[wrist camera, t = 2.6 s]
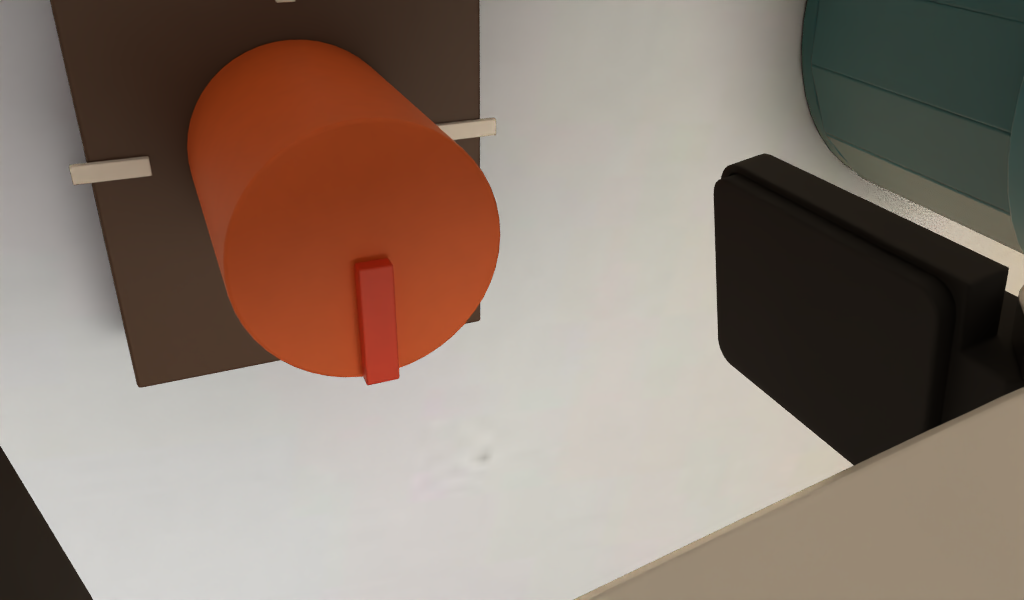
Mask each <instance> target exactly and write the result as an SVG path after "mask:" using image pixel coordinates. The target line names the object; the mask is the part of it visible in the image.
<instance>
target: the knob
mask: <svg viewBox="0 0 1024 600" xmlns="http://www.w3.org/2000/svg"><path fill="white" fill-rule="evenodd" d="M187 152H188V162H189V166H190V171H191V175H192V178H193V182H194V185H195V188H196V192H197V195H198V198H199V202H200V205H201V208H202V212H203V215H204V218H205V221H206V225H207V228H208V231H209V235H210V238H211V241H212V245H213V248H214V251H215V255H216V258H217V261H218V265H219V268H220V271H221V275H222V278H223V281H224V285H225V288H226V291H227V295H228V297H229V300H230V302H231V305H232V307H233V310H234V312H235V314H236V315H237V317H238V319H239V320H240V322H241V324H242V325H243V327H244V328H245V329H246V330H247V332H248V333H249V334H250V335H251V336H252V338H253V339H254V340H255V341H256V342H257V343H259V344H260V345H261V346H262V347H263V348H264V349H265V350H266V351H268V352H269V353H271V354H272V355H274V356H275V357H277V358H278V359H280V360H282V361H284V362H286V363H288V364H290V365H292V366H294V367H297V368H300V369H303V370H306V371H309V372H312V373H316V374H321V375H326V376H336V377H362V376H363V377H364V379H365V382H366V383H367V385H371V384H376V383H381V382H385V381H390V380H395V379H398V378H399V368H400V367H403V366H405V365H408V364H411V363H413V362H414V361H416V360H418V359H420V358H422V357H424V356H426V355H428V354H429V353H431V352H432V351H434V350H435V349H437V348H438V347H440V346H441V345H442V344H443V343H445V342H446V341H447V340H448V339H450V338H451V337H452V336H453V335H454V334H455V333H456V332H457V331H458V330H459V329H460V328H461V327H462V326H463V325H464V324H465V323H466V321H467V320H468V319H469V318H470V316H471V315H472V314H473V313H474V311H475V310H476V308H477V307H478V305H479V304H480V302H481V300H482V299H483V297H484V295H485V293H486V291H487V289H488V287H489V285H490V282H491V279H492V277H493V274H494V271H495V268H496V263H497V258H498V253H499V243H500V224H499V215H498V210H497V205H496V201H495V198H494V195H493V192H492V189H491V187H490V185H489V183H488V181H487V179H486V177H485V175H484V173H483V172H482V171H481V169H480V168H479V166H478V165H477V164H476V162H475V161H474V160H473V159H472V158H471V157H470V156H469V155H468V153H467V152H466V151H465V150H464V149H463V148H462V147H460V146H459V145H458V144H457V143H456V142H455V141H454V140H453V139H451V138H450V137H449V136H448V135H447V134H446V133H445V132H444V131H442V130H441V129H440V128H439V127H438V126H437V125H436V124H435V123H433V122H432V121H431V120H430V119H429V118H428V117H427V116H426V115H424V114H423V113H422V112H421V111H420V110H419V109H418V108H417V107H415V106H414V105H413V104H412V103H411V102H410V101H409V100H408V99H406V98H405V97H404V96H403V95H402V94H401V93H400V92H399V91H397V90H396V89H395V88H394V87H393V86H392V85H391V84H390V83H388V82H387V81H386V80H385V79H384V78H383V77H382V76H381V75H379V74H378V73H377V72H376V71H375V70H374V69H373V68H372V67H370V66H369V65H368V64H367V63H365V62H364V61H363V60H361V59H360V58H359V57H357V56H355V55H353V54H352V53H350V52H348V51H346V50H344V49H341V48H339V47H337V46H334V45H331V44H327V43H323V42H319V41H311V40H284V41H277V42H272V43H269V44H265V45H262V46H259V47H256V48H254V49H252V50H249V51H247V52H245V53H243V54H242V55H240V56H238V57H237V58H235V59H233V60H232V61H231V62H230V63H228V64H227V65H226V66H225V67H223V68H222V69H221V70H220V71H219V72H218V73H217V74H216V75H215V76H214V77H213V78H212V79H211V81H210V82H209V83H208V85H207V86H206V88H205V89H204V91H203V92H202V94H201V96H200V98H199V99H198V101H197V103H196V105H195V108H194V111H193V114H192V117H191V120H190V125H189V130H188V140H187Z"/></svg>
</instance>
